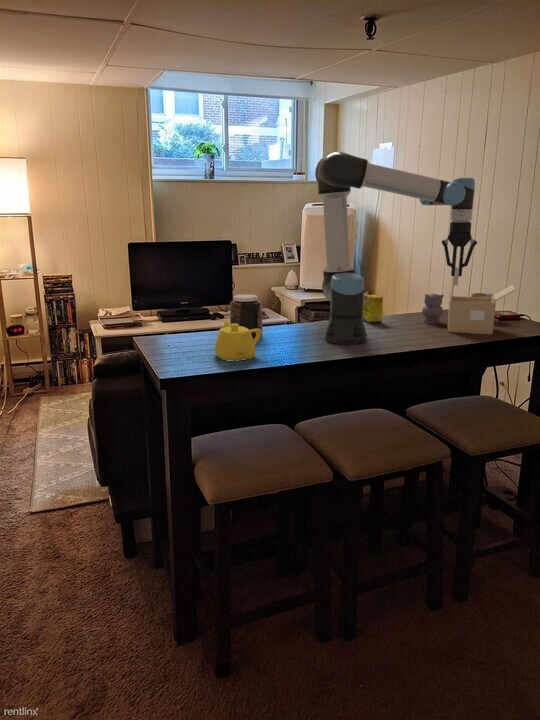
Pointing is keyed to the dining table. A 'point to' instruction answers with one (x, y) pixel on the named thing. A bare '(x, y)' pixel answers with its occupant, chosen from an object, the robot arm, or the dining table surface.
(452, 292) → the flap
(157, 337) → the dining table surface
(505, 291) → the flap
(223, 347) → the teapot
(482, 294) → the mug
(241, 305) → the jar
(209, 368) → the dining table surface
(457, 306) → the carton
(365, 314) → the supplement box
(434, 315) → the cat figurine
